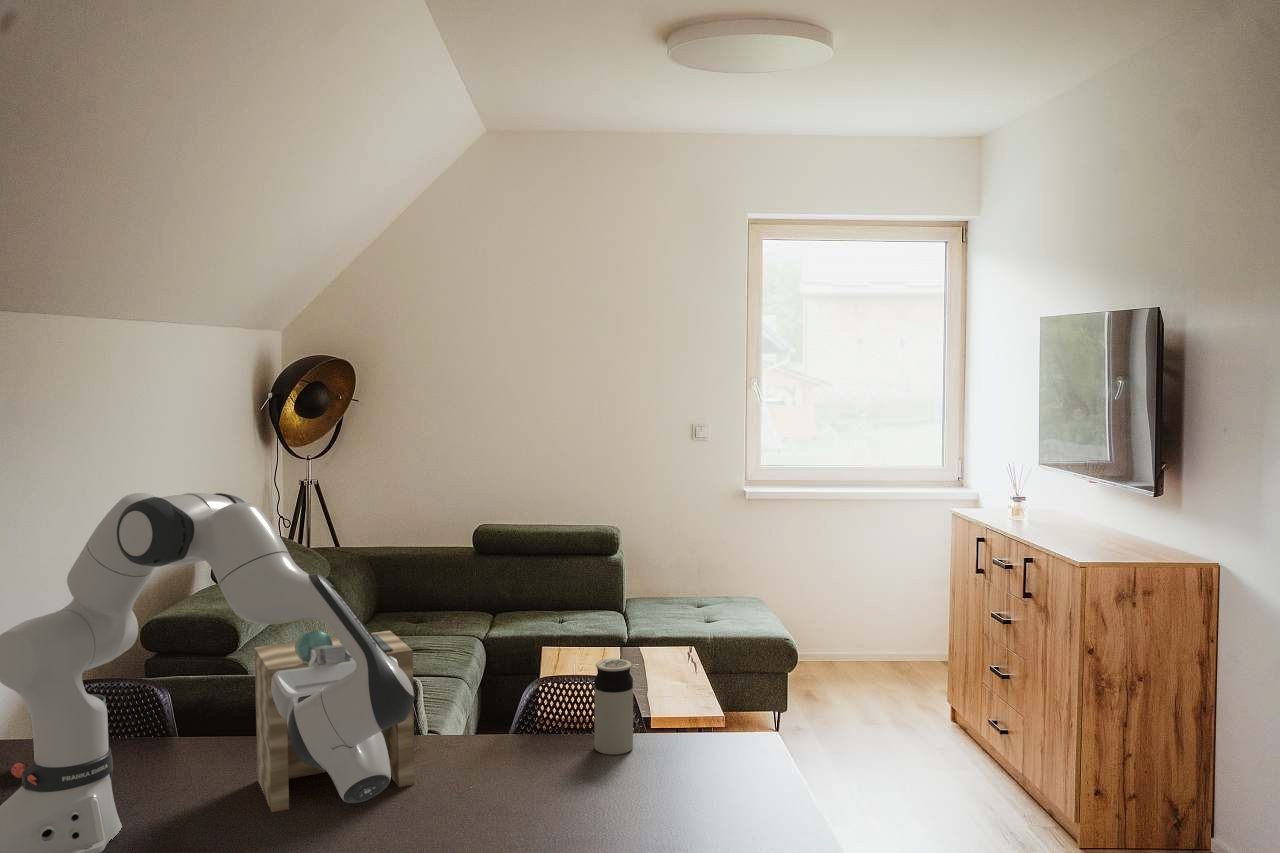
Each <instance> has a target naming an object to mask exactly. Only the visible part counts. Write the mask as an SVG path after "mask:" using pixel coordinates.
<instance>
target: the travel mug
mask: <svg viewBox="0 0 1280 853" xmlns="http://www.w3.org/2000/svg"><path fill="white" fill-rule="evenodd" d="M632 665H633V664H632V662H631V661H629V660H626V659H622V658H606V659H602V660H598V661H597V662H596V663H595V667H596V670H597V671H596V672H597V674H596V676H595V677H594V680H593V681H594V749H595V750H596V751H597V752H599V753H601V754H603V755H610V756H616V755H617V756H618V755H624V754H626V753H628V752H630V751H632V750H633V748H634V678H633V677H632V675H631V673H630V672H631V668H632Z"/></svg>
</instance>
